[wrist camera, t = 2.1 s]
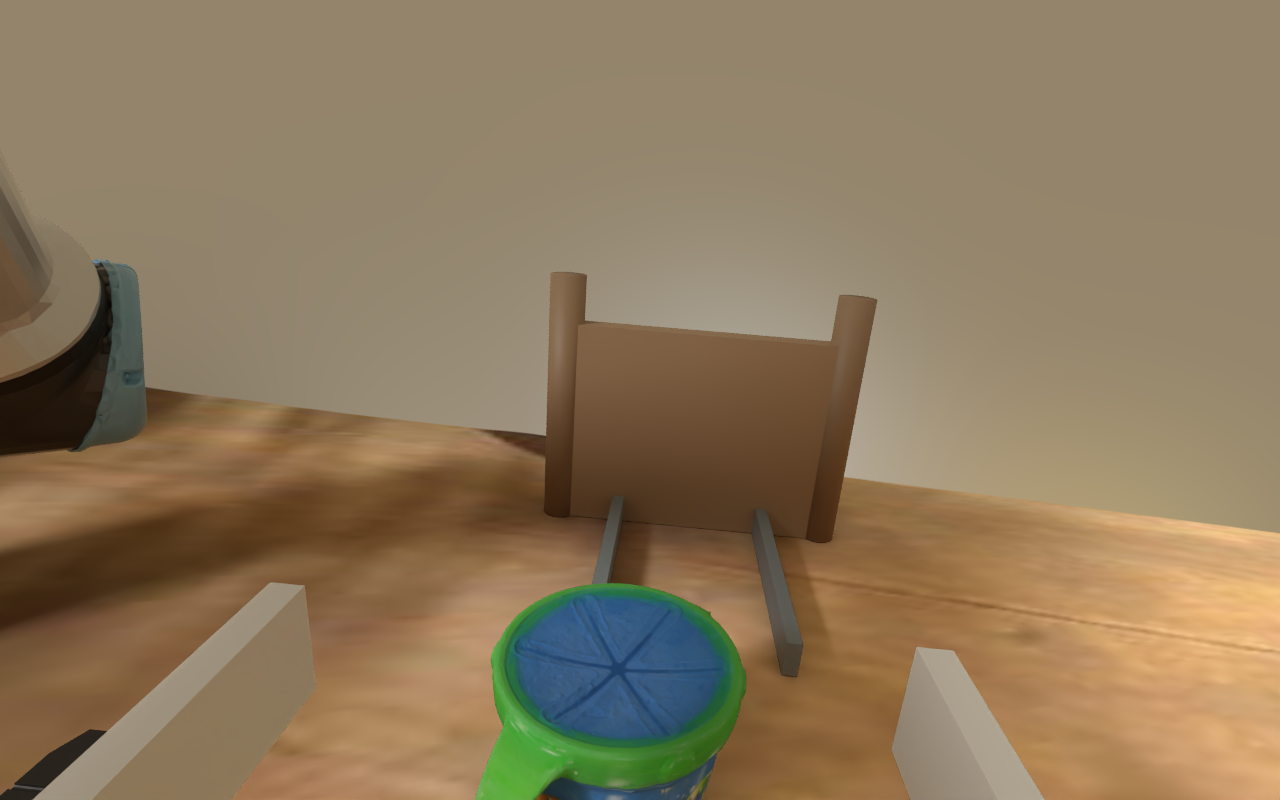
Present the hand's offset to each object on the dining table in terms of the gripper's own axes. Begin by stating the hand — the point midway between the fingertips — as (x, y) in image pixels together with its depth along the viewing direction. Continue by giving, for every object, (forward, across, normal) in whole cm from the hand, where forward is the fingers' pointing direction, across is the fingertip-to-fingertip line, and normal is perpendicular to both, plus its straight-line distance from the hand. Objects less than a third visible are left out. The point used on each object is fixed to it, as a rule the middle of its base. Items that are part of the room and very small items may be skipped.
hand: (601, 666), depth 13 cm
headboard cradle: (+33, +4, -19) cm, 38 cm away
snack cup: (+11, 0, -19) cm, 22 cm away
